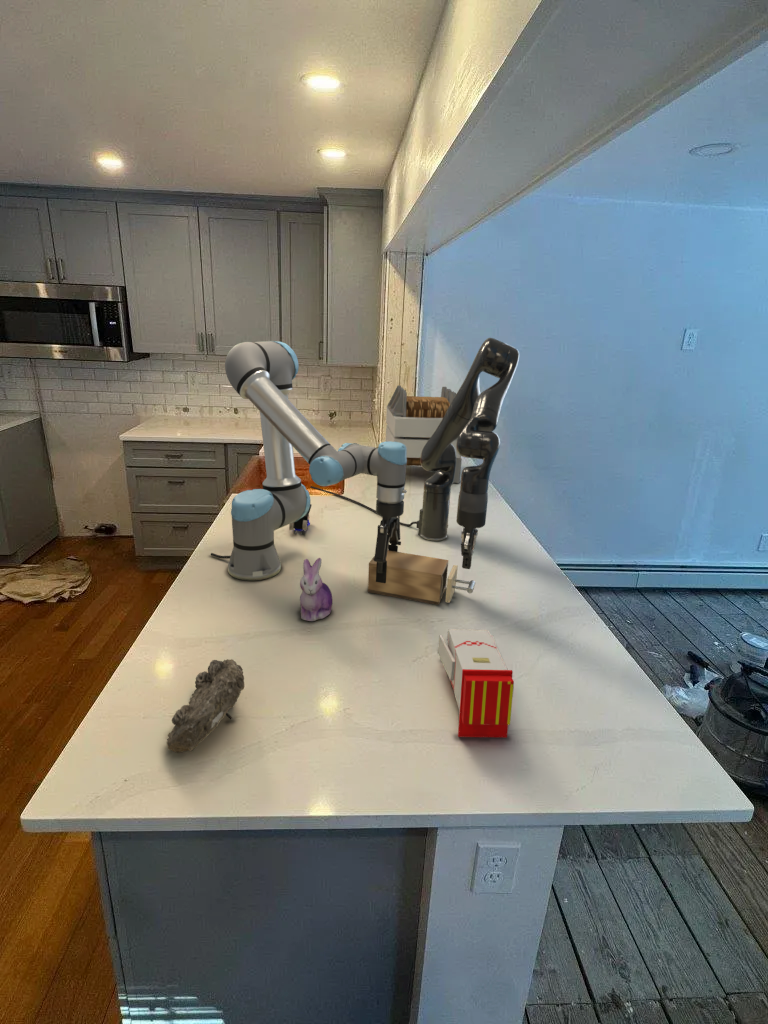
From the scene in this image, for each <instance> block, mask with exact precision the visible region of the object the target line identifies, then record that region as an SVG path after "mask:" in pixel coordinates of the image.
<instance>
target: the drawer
mask: <svg viewBox="0 0 768 1024" xmlns="http://www.w3.org/2000/svg"><path fill="white" fill-rule="evenodd" d="M458 567H459V566H458V565H456V564H453V565H452V567H451V570H450V572H449V574H448V572H447V571H448V569H449V565H448V566H447V567H446V569H445V571H444V573H443V575H442V579H441V591H440V599H441V597H442V598H443V596H444V594H445V601H444V602H445V603H448V604H450V603H451V601H452V598H453V596H454V594H455V591H456V590H461V591H465V592H467V593H468V594H472V593H473V592H474V588H475V585H476V581H475V580H470V581H469V580H468V581H467V580H461V579H458V578H457V577H458V569H459V568H458ZM446 582H447V583H446ZM457 583H460V584H466V585H468V586H467V587H464V586H459V585H457ZM445 588H446V590H445ZM444 590H445V592H444ZM443 593H444V594H443ZM442 595H443V596H442ZM441 600H442V599H441Z"/></svg>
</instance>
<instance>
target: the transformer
mask: <svg viewBox="0 0 768 1024" xmlns="http://www.w3.org/2000/svg"><path fill="white" fill-rule="evenodd" d="M440 393H441V394H440V396H415V395H414V396H413V395H412V396H411V395H407V394H408V393H407V390H406V389H404V388H403V387H402V385H399V384H398V385H397V386H396V388H395V390H394V392H393V394H392V395H391V398H390V400H389V402H388V404H387V405H386V413H385V414H386V415H385V423H386V428H385V438H384V442H387V441H391V442H400V443H402V444H404V445H405V446H406V449H407V462H406V467H407V466H411V467H412V466H413V467H415V466H416V467H417V466H418V467H422V466H421V462H420V457H421V452H422V450H423V448H424V446H425V444H426V443H427V442H428V440H429V439H430V438H431V436H432V435H433V433H434V432H435V431H436V429H437V427H438V426H439V424H440V422H441V421H442V419H443V417H444V416H445V414H446V412H447V409H448V408H449V406H450V404H451V402H452V400H453V399H454V397H455V395H456V394H457V392H455V391H453V390H452V389H451V388H447V386H442V387H441V392H440ZM457 439H458V438H457ZM457 439H456V440H455V441H453V442H452V443H451V444H452V445H453V446H454V448H455V451H456V467H455V473H454V481H453V484H455V483H456V484H459V483H461V475H462V461H463V460H462V456H461V455H460V454H459V453H458V451H457V447H456V444H457Z"/></svg>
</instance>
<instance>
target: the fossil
mask: <svg viewBox="0 0 768 1024" xmlns="http://www.w3.org/2000/svg"><path fill="white" fill-rule="evenodd" d="M243 670H244V669H243V667H242V665H240V664H237V662H236V661H235V660H234V659H232V658H231V659H227V658H226V659H224V660H223V661H222V660H217V659H212V660H211V661H210V663H209V665H208V666H207V671H201V672H199V673H198V674H197V675H196V676H195V680H194V684H195V685H194V687H195V689H194V690H193V693H192V694H191V697H190V698H189V700H188V704H184V705H182V706H181V707H180V709H177V710H176V711H175V713H174V715H173V716H172V718H171V723H172V724H173V727H172V730H171V731H170V732H168V734H167V738H166V741H167V742H166V745H167V749H168V750H169V751H173V752H174V753H176V754H178V753H182V752H188V751H189V752H192V751H193V750H195V748H196V747H197V746H199V744H200V743H201V742H203V741H204V740H205V739H206V738H207V737H208V736H209V735H210V734H211V733H212V732H214V730H215V729H217V727H218V726H219V724H220V722H221V721H222V720H223V719H224V718H225V716H226V717H227V719H229V720H233V717H232V715H230V714H229V710H230V709H231V708H234V706H235V704H236V703H237V702H238V699H239V697H240V695H241V693H242V691H243V690H245V689H244V688H245V675H244V671H243Z"/></svg>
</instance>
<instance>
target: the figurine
mask: <svg viewBox="0 0 768 1024" xmlns="http://www.w3.org/2000/svg"><path fill="white" fill-rule="evenodd" d="M302 566H303V567H302V568H303V575H302V576H301V579H300V582H299V586H300V587H299V588H300V589H301V591H302V592H301V594H300V596H299V604H300V619H302V620H304V621H307V622H308V621H309V622H315V621H317V620H322V619H324V618H327V616H329V615H330V614H331V613H332V611H333V610H332V609H333V594H332V591H331V588H330V587H329V585H328V584H326V583H325V582H323V579H322V577H321V576H320V570H321V566H322V558H321V557H318V558H317V559H316V560H315V561H314V563H313V564H312V565H311V563H310V561H309V559H308V558H305V559H304V560H303V565H302Z"/></svg>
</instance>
